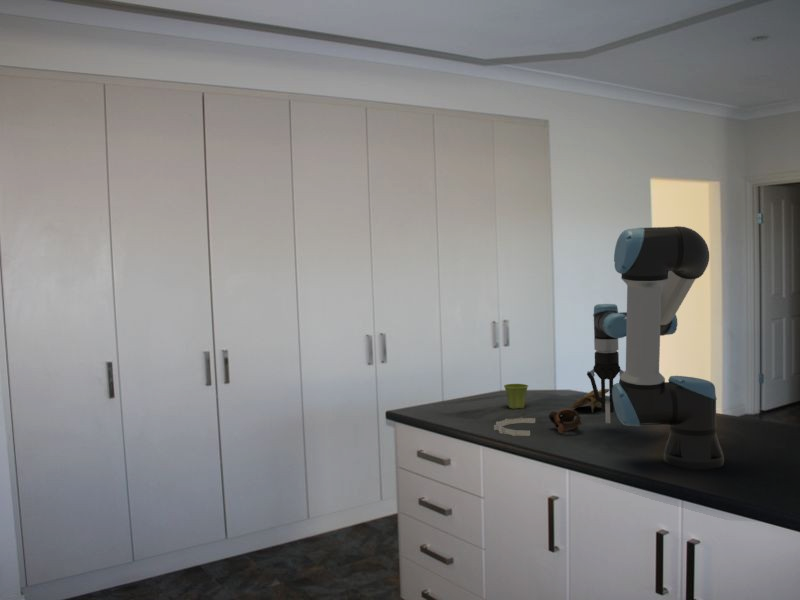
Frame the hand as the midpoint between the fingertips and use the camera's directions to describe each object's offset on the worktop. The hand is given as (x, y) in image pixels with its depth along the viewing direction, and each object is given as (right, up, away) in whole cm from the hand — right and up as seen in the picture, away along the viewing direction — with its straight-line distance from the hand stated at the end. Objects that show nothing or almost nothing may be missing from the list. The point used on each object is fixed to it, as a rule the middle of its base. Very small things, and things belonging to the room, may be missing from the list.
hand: (607, 422), depth 222 cm
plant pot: (-23, -2, +42) cm, 48 cm away
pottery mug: (-13, -4, +4) cm, 15 cm away
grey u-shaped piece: (-30, -4, +9) cm, 31 cm away
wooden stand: (+4, -2, +29) cm, 30 cm away
